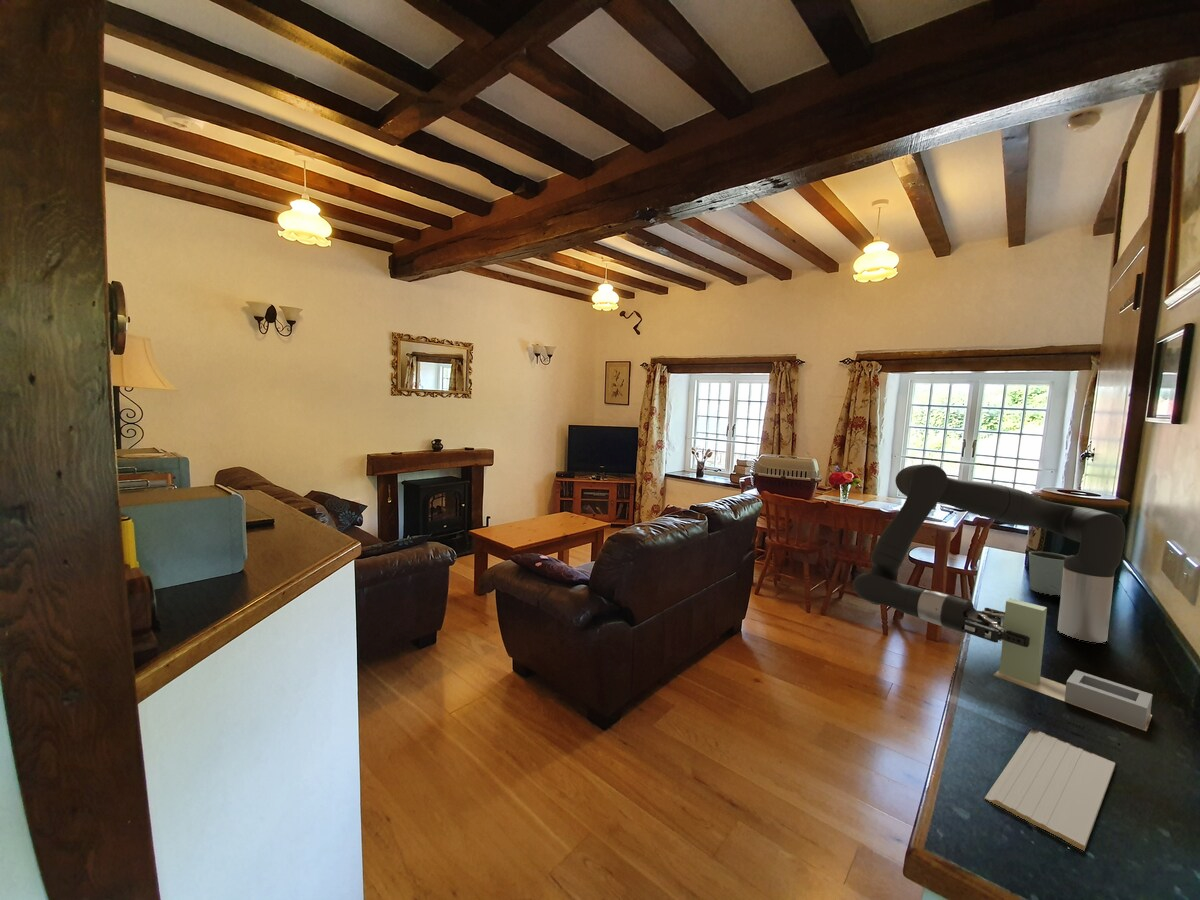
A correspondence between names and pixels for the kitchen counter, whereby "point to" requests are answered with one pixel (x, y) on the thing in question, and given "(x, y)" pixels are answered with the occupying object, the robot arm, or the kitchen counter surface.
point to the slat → (1018, 658)
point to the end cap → (1109, 698)
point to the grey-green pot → (1046, 572)
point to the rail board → (1050, 690)
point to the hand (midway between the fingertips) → (1035, 636)
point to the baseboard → (1054, 786)
